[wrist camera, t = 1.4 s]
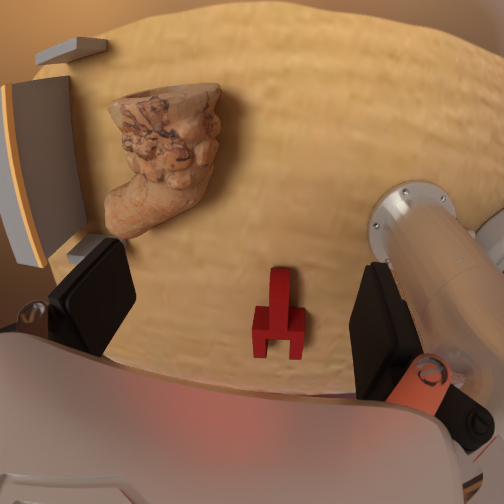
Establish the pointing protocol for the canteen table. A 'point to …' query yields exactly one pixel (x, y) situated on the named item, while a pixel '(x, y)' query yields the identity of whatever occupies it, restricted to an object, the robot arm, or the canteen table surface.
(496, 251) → the turbocharger housing
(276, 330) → the mechanical linkage
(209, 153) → the clay pipe
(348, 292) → the canteen table surface
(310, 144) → the canteen table surface
